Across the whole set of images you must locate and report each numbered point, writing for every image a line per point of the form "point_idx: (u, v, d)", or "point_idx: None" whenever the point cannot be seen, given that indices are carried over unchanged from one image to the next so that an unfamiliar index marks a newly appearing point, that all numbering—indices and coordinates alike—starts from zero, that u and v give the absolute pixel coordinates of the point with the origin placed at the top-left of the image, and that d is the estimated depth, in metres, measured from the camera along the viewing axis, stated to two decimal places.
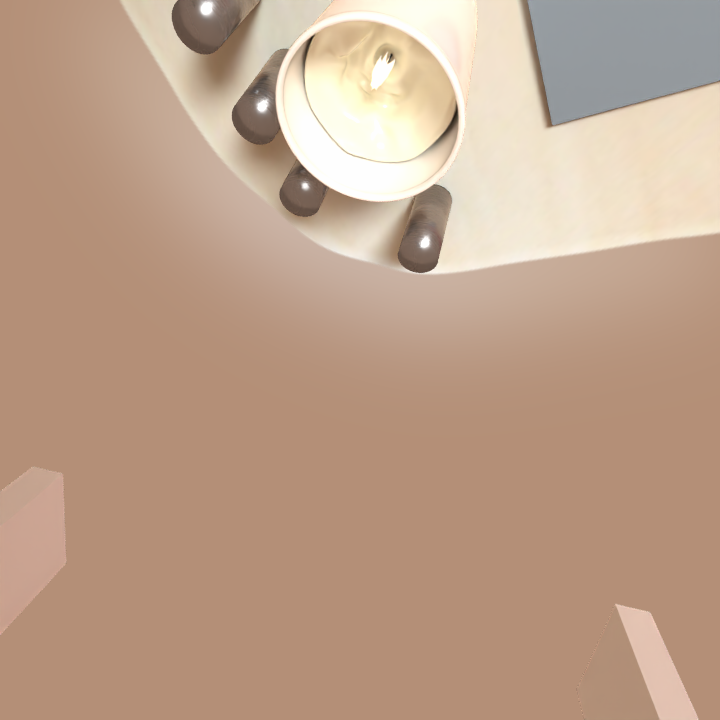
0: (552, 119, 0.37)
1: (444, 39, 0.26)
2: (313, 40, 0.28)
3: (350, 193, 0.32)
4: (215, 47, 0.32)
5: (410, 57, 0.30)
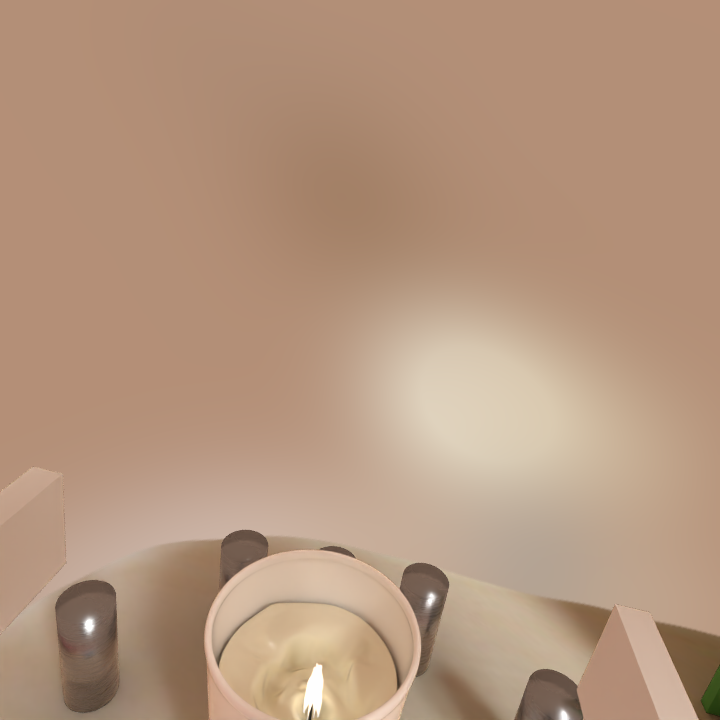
0: None
1: None
2: (384, 644, 0.28)
3: (254, 566, 0.28)
4: (405, 580, 0.35)
5: None
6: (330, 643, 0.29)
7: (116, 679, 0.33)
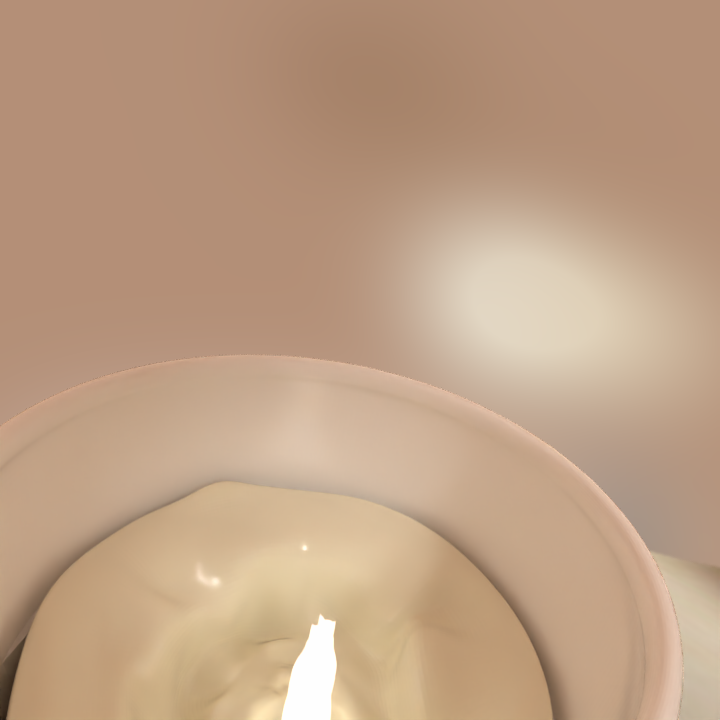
0: None
1: None
2: (492, 585, 0.11)
3: (170, 366, 0.11)
4: None
5: None
6: (353, 580, 0.12)
7: None
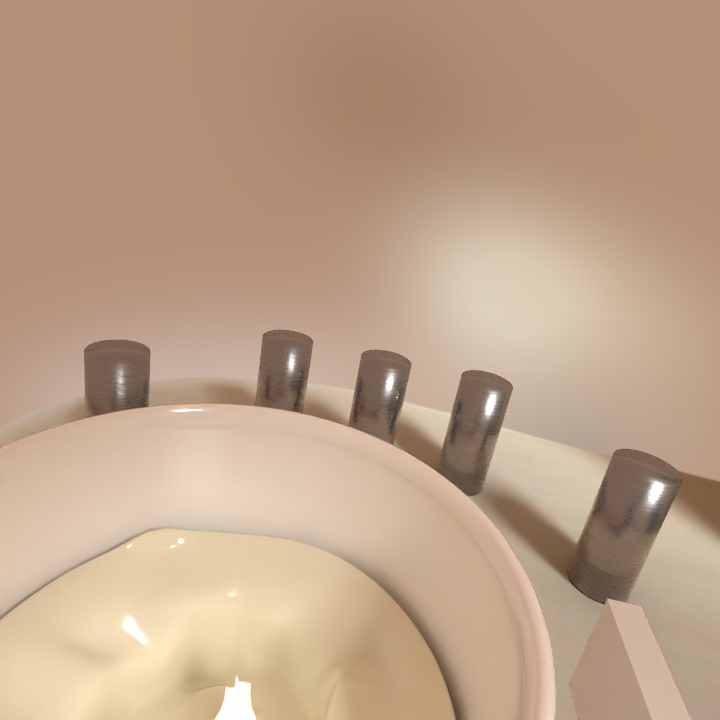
0: None
1: None
2: (420, 635, 0.11)
3: (96, 422, 0.11)
4: (465, 378, 0.32)
5: None
6: (287, 627, 0.12)
7: None
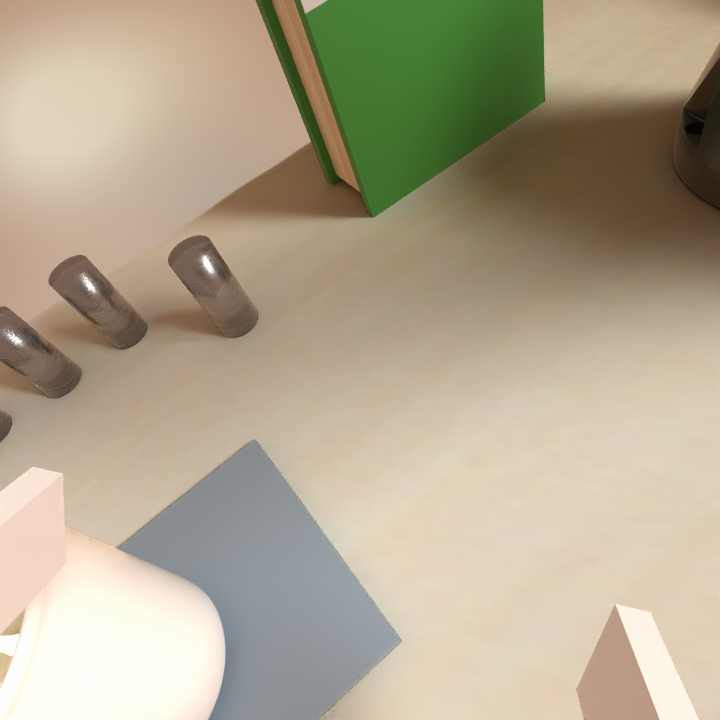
0: None
1: None
2: None
3: None
4: (52, 284, 0.37)
5: None
6: None
7: None
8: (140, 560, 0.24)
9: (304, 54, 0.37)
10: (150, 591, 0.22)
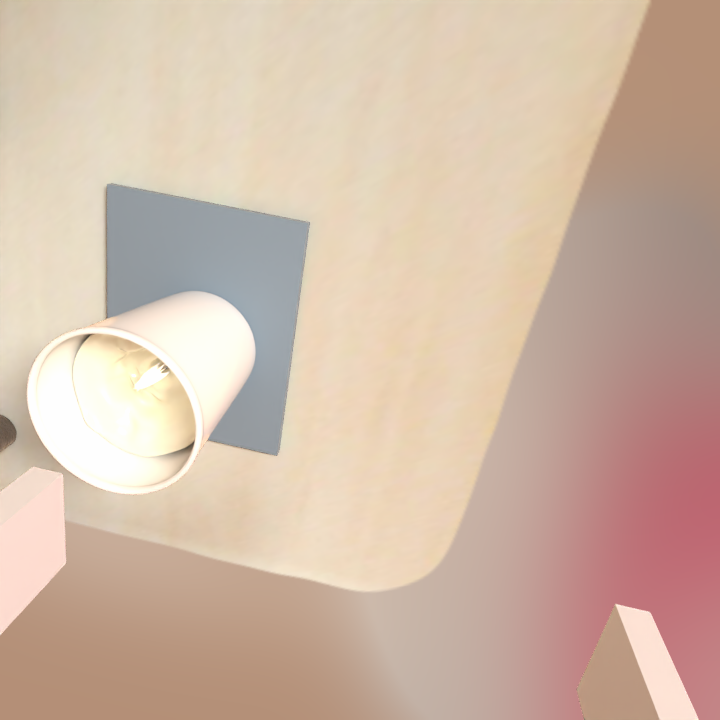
0: None
1: (206, 389, 0.30)
2: None
3: (65, 464, 0.31)
4: None
5: None
6: (108, 367, 0.33)
7: None
8: (151, 303, 0.34)
9: None
10: (177, 309, 0.33)
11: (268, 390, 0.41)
